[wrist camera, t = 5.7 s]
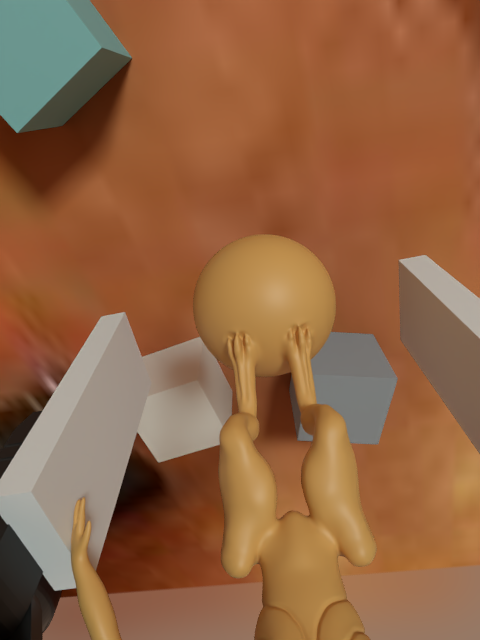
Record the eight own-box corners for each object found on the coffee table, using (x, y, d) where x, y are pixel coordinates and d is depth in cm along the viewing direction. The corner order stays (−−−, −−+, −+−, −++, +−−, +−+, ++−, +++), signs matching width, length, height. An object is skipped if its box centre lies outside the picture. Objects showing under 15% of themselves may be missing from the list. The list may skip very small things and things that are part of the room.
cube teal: (62, 125, 22) (17, 132, 17) (-17, 33, 20) (-92, 14, 15) (132, 58, 20) (101, 47, 16) (53, -49, 18) (-6, -96, 14)
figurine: (390, 200, 12) (1379, 814, 2) (383, 366, 15) (741, 989, 4) (118, 236, 13) (-459, 921, 2) (161, 392, 15) (6, 1022, 5)
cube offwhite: (170, 410, 31) (158, 462, 26) (137, 357, 28) (119, 405, 24) (232, 390, 30) (231, 441, 25) (204, 334, 28) (197, 379, 23)
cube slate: (289, 389, 30) (297, 440, 25) (298, 329, 27) (309, 374, 23) (357, 393, 30) (377, 444, 25) (372, 333, 28) (397, 378, 23)
